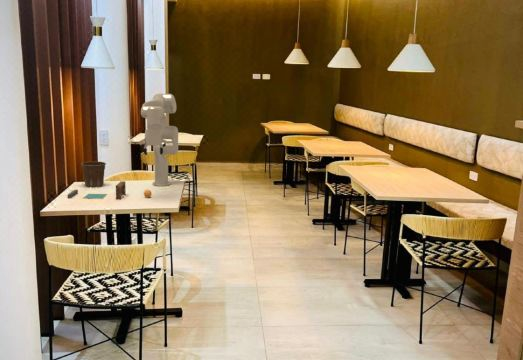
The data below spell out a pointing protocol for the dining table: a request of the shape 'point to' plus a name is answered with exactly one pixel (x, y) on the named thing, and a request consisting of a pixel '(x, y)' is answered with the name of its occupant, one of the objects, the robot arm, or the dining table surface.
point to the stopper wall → (73, 193)
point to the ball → (147, 193)
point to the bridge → (120, 189)
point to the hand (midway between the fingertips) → (153, 154)
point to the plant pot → (93, 173)
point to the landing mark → (95, 196)
